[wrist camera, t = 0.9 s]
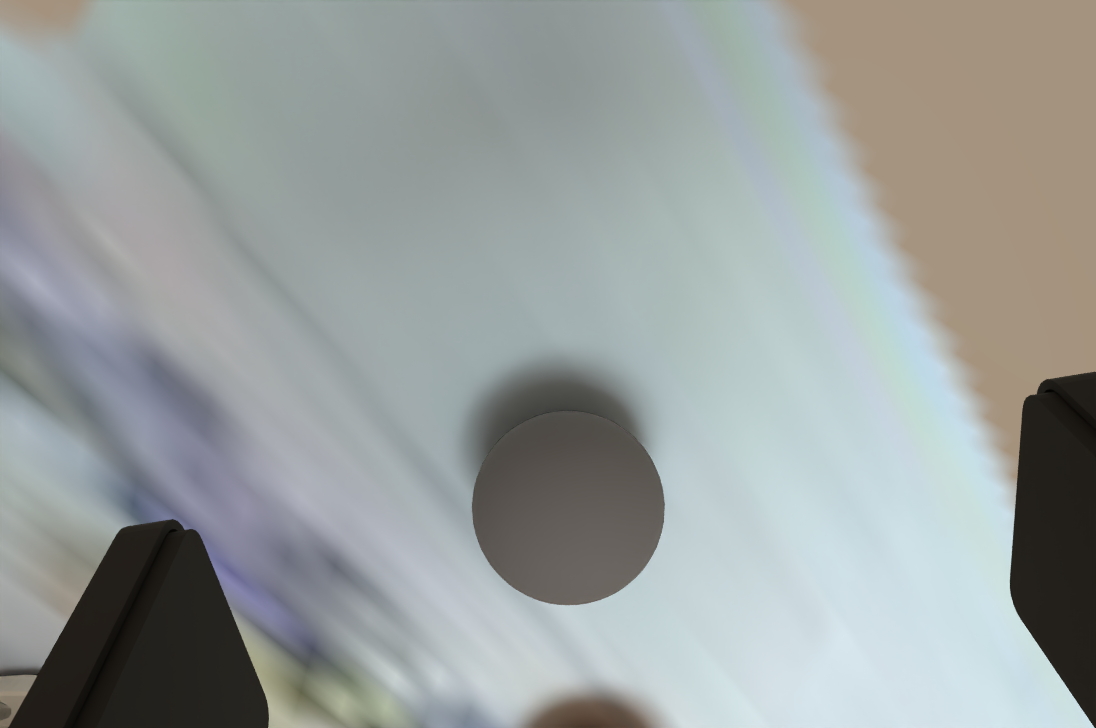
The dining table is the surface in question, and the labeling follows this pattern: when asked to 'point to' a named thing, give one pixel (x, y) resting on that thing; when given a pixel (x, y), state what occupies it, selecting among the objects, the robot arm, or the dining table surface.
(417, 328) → the dining table surface
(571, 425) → the charcoal ball
